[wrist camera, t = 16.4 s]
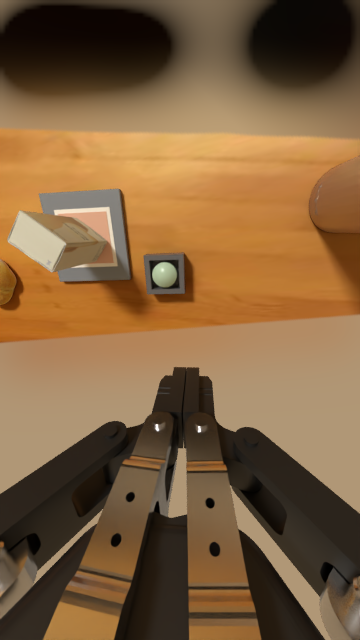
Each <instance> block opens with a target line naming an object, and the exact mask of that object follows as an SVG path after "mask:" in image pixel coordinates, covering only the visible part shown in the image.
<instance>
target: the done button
mask: <svg viewBox="0 0 360 640" xmlns="http://www.w3.org/2000/svg"><path fill="white" fill-rule="evenodd" d="M152 277H153V280H154V282H155V283H156V284H157V285H158V286H160V287H169V286H171V285H173V284H174V282H175V281H176V278H177V269H176V267H175V266H174V265H173V264H172V263H170V262H167V261H164V262H161V263H159V264H158V265H157V266H155V268H154V269H153V272H152Z"/></svg>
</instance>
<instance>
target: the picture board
mask: <svg viewBox="0 0 360 640" xmlns="http://www.w3.org/2000/svg"><path fill="white" fill-rule="evenodd" d="M39 197H40V201H41V205H42V209H43V213H44V214H51V215H58V216H66V217H74V218H78V219H79V220H80V221H82V222H83V223H85V224H86V225H87V226H89V227H90V228H92V229H93V230H94V231H96V232H97V233H98V234H99V235H101V236H102V237H103V238H104V239H106V240H107V244H106V245H105V247H104V249H103V251H102V253H101V254H100V256H99V258H98V259H97V261H96V262H92V263H88V264H83V265H80V266H75V267H72V268H68V269H63V270H60V271H58V275H59V279H60V282H62V281H99V280H130V279H131V272H130V264H129V255H128V247H127V239H126V231H125V223H124V214H123V206H122V198H121V190H120V189H109V190H93V191H76V192H59V193H42V194H39Z"/></svg>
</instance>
